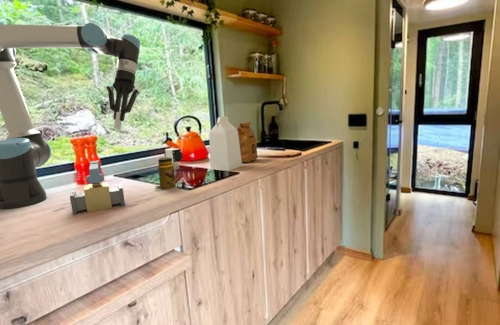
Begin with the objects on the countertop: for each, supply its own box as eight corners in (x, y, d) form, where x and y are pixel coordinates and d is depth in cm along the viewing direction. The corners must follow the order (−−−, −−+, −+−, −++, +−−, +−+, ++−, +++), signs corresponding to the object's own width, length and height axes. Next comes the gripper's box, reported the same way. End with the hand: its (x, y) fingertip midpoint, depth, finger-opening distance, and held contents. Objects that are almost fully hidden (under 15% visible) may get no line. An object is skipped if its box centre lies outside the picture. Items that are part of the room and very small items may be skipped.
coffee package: (260, 159, 169) (258, 121, 165) (248, 164, 159) (246, 123, 155) (246, 159, 175) (243, 121, 171) (233, 163, 165) (231, 123, 161)
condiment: (176, 188, 117) (173, 158, 114) (154, 191, 115) (150, 161, 113) (176, 184, 124) (173, 156, 122) (155, 186, 122) (152, 158, 120)
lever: (87, 184, 93) (84, 169, 92) (88, 175, 108) (86, 161, 108) (104, 182, 96) (102, 167, 95) (103, 173, 111) (101, 160, 110)
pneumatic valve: (176, 171, 150) (173, 148, 148) (165, 169, 159) (163, 146, 157) (185, 169, 154) (183, 146, 152) (174, 167, 162) (172, 145, 160)
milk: (228, 170, 145) (224, 117, 140) (210, 169, 151) (206, 118, 146) (242, 165, 155) (238, 115, 150) (224, 164, 161) (220, 116, 156)
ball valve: (72, 215, 92) (68, 188, 90) (74, 209, 98) (70, 184, 97) (125, 205, 98) (121, 180, 97) (123, 200, 105) (120, 176, 103)
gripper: (106, 66, 118) (96, 124, 116) (138, 71, 119) (130, 128, 116) (113, 74, 126) (105, 128, 123) (144, 78, 126) (136, 132, 124)
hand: (117, 128), depth 120 cm, fingers closed
